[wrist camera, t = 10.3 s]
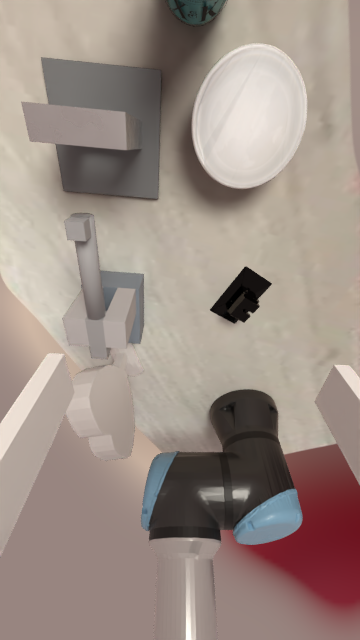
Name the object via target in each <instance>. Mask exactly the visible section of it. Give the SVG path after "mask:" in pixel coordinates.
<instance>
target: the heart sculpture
mask: <svg viewBox="0 0 360 640" xmlns="http://www.w3.org/2000/svg"><path fill="white" fill-rule="evenodd" d="M110 355H111V356H112V358H113V360H114V362H113V366H111V365H105V366H99V367H93V368H88V369H85V370H83V371H81V372H79V373H77V374H76V375H75V377H74V378H73V380H72V385H73V388H74V392H75V393H74V395H73V398H72V400H71V402H70V404H69V406H68V409H67V411H66V415H67V418H68V420H69V423H70V425H71V427H72V428H73V430H74V432H75V433H76V434H77V436H78V437H80V438H88V440H89V445H90V448H91V451H92V453H93V454H94V455H95V456H96V457H98V458H99V459H101V460H105V461H106V460H116V459H123V458H128V457H129V456H130V455H131V452H132V448H133V442H134V432H135V420H134V407H133V401H132V395H131V390H130V386H129V381H128V376H137V375H139V374H141V373H143V372H144V369H143V367H142V365H141V363H140V360H139V358H138V356H137V354H136V352H135V350H134V347H133V345H132V343H128V345H127V349H124V348H111V351H110Z"/></svg>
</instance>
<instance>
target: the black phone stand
mask: <svg viewBox="0 0 360 640" xmlns="http://www.w3.org/2000/svg"><path fill="white" fill-rule="evenodd" d="M271 284H272V283H270V282H269V281H267V280H266V279H264V278H263V277H261V276H260V275H258V274H257V273H255V272H254V271H252V270H251V269H249V268H248V267H244V269H243V270H242V271H241V272H240V274H239V275H238V276H237V277H236V278H235V280H234V281H233V282H232V283H231V285H230V286H229V287H228V288H227V290H226V291H225V292H224V293H223V294H222V296H221V297H220V298H219V299H218V301H217V302H216V303H215V304H214V305H213V307H212V308H211V309H210V311H212V312H214V313H216V314H218V315H219V316H221V317H223V318H225V319H227V320H229V321H231V322H233V323H236V322H237V321H238V320H240V321H242V322H245V321H246V320H247V319H248V318H249V317H250V314H248V313H247V312H248V311H249V312H251V313H254V312H255V311H256V310H257V309H258V308H259V307H260V306H259V304H258V303H259V300H258V298H259V297H260V296H261V295H262V294H263V293H264V292H265V291H266V290H267V289H268V288H269V287H270V286H271Z"/></svg>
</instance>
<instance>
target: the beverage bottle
mask: <svg viewBox="0 0 360 640" xmlns="http://www.w3.org/2000/svg"><path fill="white" fill-rule="evenodd" d="M225 1H226V0H167V2H168V4H169V7H170V9H172V11H173V12H174V13H175V15H176V16H177V17H178V18H180V19H181V20H182V21H184V22H186V23H188V24H192V25H200V24H204V23H206V22H208V21H210V20H212V18H214V17H215V16H216V15H217V14H218V12H219V11H220V10H221V8H222V7H223V5H224V3H225ZM165 2H166V1H165ZM226 3H227V2H226ZM167 6H168V5H167ZM224 7H225V6H224ZM170 11H171V10H170ZM219 14H220V13H219ZM219 14H218V15H219ZM173 15H174V14H173ZM175 15H174V16H175ZM176 16H175V17H176ZM178 18H177V19H178ZM214 19H215V18H214ZM178 20H179V19H178ZM182 21H181V22H182ZM210 22H211V21H210ZM184 24H185V23H184ZM188 24H187V25H188ZM207 24H208V23H207ZM190 26H191V25H190ZM201 26H203V25H201Z"/></svg>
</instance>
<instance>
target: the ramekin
mask: <svg viewBox="0 0 360 640" xmlns="http://www.w3.org/2000/svg"><path fill="white" fill-rule="evenodd" d="M306 119H307V95H306V89H305V85H304V82H303V79H302V76H301V74H300V72H299V70H298V68H297V66H296V65H295V63H294V62H293V61H292V60H291V59H290V57H289V56H288V55H286V54H285V53H284V52H283V51H281V50H280V49H278V48H276V47H275V46H272V45H268V44H261V43H254V44H247V45H243V46H240V47H238V48H236V49H234V50H232V51H230V52H229V53H227V54H226V55H225V56H223V57H222V58H221V59H220V60H219V61H217V63H216V64H215V65H214V66H213V67H212V68H211V70H210V71H209V72H208V74H207V75H206V77H205V79H204V80H203V82H202V84H201V86H200V88H199V91H198V93H197V96H196V99H195V102H194V106H193V111H192V122H191V132H192V141H193V146H194V149H195V153H196V155H197V158H198V160H199V162H200V164H201V165H202V167H203V168H204V170H205V171H206V172H207V174H208V175H209V176H210V177H211V178H213V179H214V180H215V181H217V182H218V183H220V184H222V185H224V186H227V187H230V188H235V189H248V188H254V187H257V186H260V185H262V184H264V183H266V182H268V181H270V180H271V179H273V178H275V177H276V176H277V175H278V174H279V173H280V172H281V171H282V170H283V169H284V168H285V167H286V165H287V164H288V163H289V162H290V160H291V159H292V157H293V156H294V154H295V152H296V150H297V148H298V146H299V144H300V142H301V139H302V136H303V132H304V129H305V125H306Z"/></svg>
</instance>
